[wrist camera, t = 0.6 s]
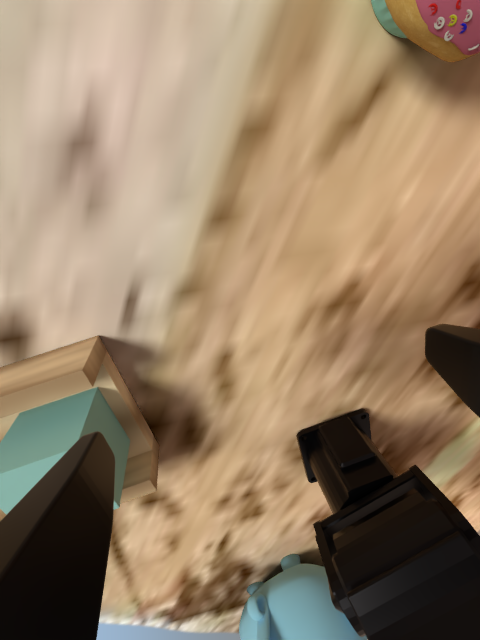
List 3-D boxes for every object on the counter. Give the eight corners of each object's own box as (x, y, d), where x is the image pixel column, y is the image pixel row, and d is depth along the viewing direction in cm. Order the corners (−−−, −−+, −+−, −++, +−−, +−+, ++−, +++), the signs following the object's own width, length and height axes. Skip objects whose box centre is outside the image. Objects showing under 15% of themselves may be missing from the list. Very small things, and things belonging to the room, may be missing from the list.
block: (130, 440, 22) (119, 507, 18) (60, 464, 22) (31, 539, 17) (97, 386, 20) (75, 447, 15) (19, 412, 19) (-27, 483, 15)
